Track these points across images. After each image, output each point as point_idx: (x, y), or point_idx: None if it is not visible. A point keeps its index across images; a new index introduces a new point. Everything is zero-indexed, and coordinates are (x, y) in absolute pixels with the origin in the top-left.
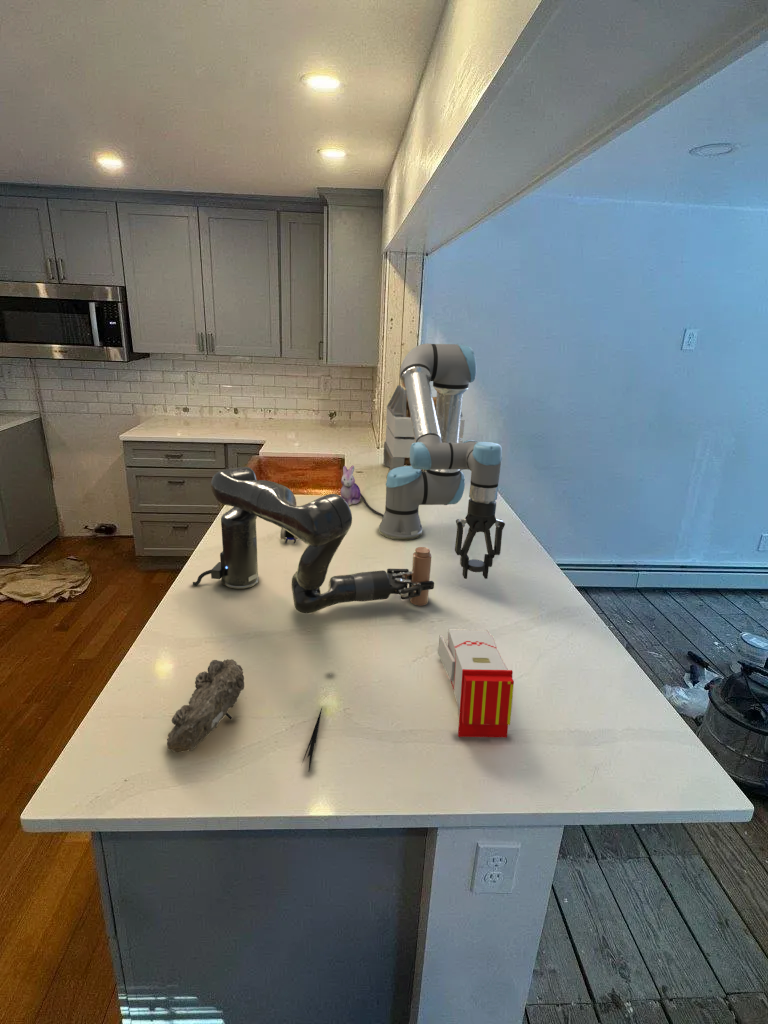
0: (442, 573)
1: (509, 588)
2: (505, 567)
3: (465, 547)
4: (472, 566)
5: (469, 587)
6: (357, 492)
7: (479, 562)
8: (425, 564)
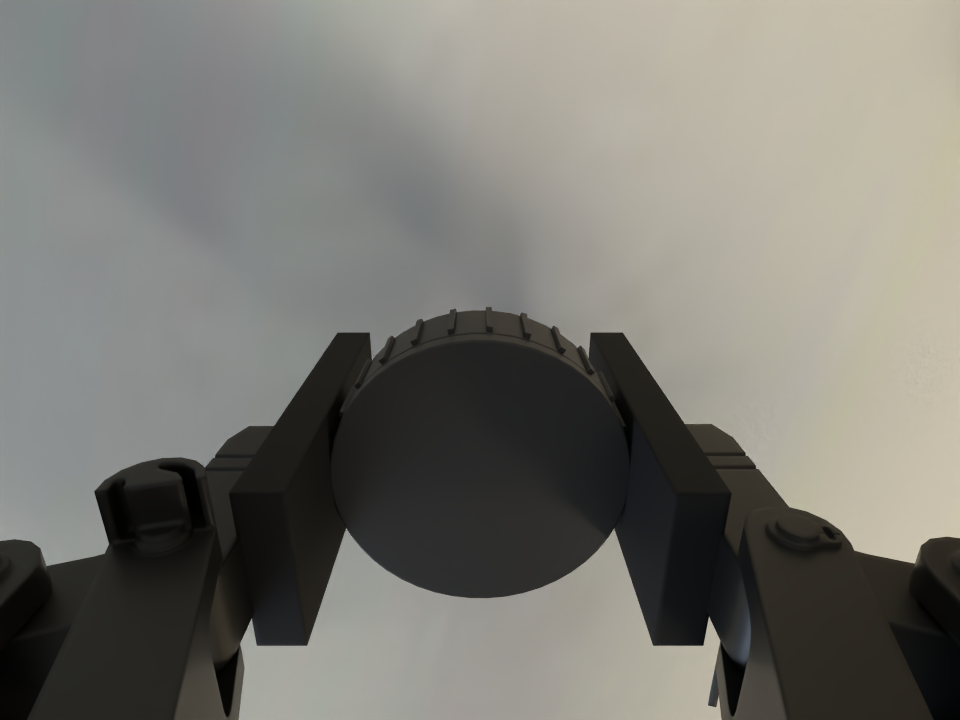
0: None
1: (126, 321)
2: None
3: (928, 717)
4: (579, 368)
5: None
6: None
7: (422, 500)
8: None
